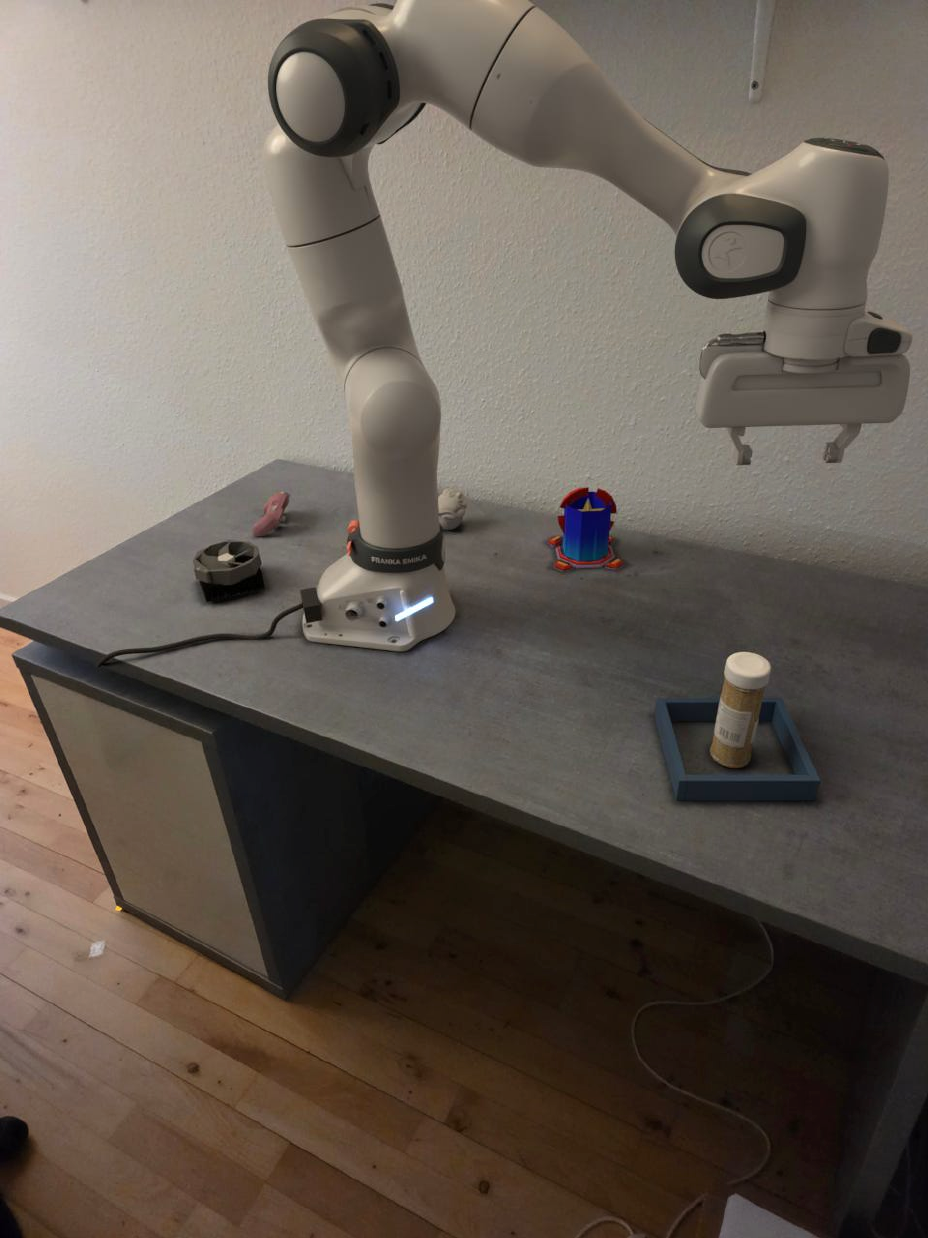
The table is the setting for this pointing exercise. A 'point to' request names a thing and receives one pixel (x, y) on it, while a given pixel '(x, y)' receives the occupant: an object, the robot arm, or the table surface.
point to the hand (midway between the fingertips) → (786, 462)
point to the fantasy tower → (586, 532)
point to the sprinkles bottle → (739, 708)
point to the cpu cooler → (229, 570)
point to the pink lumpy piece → (272, 514)
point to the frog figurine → (451, 508)
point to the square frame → (736, 785)
